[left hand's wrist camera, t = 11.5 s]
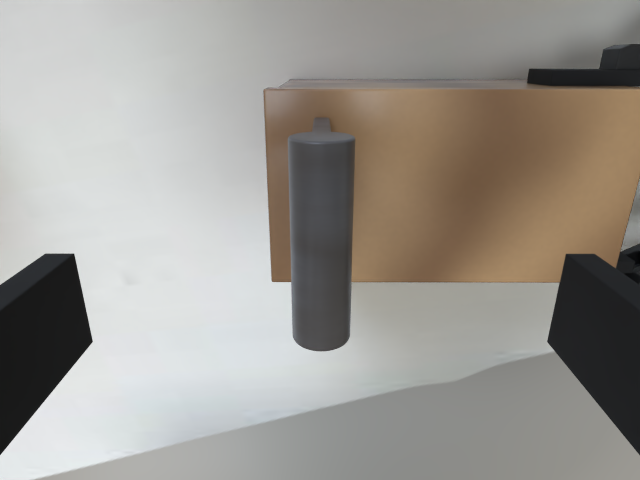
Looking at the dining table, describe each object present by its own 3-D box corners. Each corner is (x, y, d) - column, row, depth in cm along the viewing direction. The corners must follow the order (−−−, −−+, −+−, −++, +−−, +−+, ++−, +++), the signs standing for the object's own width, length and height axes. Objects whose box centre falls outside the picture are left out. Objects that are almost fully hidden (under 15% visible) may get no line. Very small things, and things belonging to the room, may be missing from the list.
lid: (273, 272, 24) (250, 376, 16) (266, 87, 21) (232, 104, 13) (600, 273, 24) (735, 377, 16) (645, 87, 21) (847, 104, 13)
